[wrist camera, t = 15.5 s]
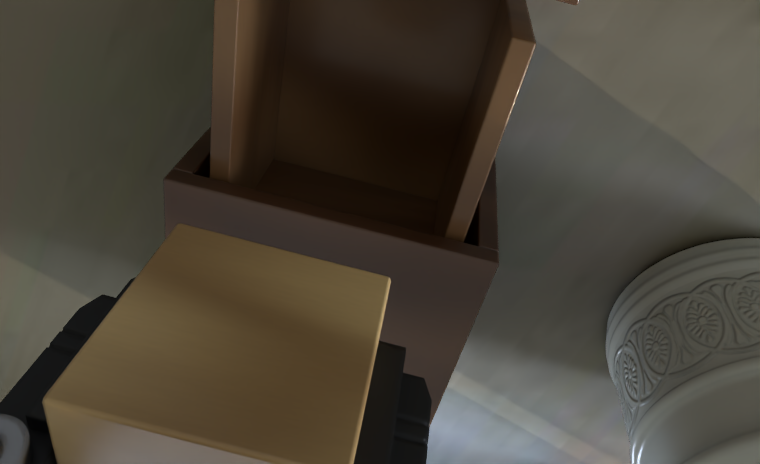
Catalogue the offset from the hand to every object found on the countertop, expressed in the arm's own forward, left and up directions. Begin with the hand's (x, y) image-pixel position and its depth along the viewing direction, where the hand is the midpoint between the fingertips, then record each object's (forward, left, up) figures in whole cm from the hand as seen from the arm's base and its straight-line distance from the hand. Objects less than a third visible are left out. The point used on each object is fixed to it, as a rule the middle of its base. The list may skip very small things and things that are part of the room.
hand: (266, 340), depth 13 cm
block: (0, 0, -1) cm, 1 cm away
